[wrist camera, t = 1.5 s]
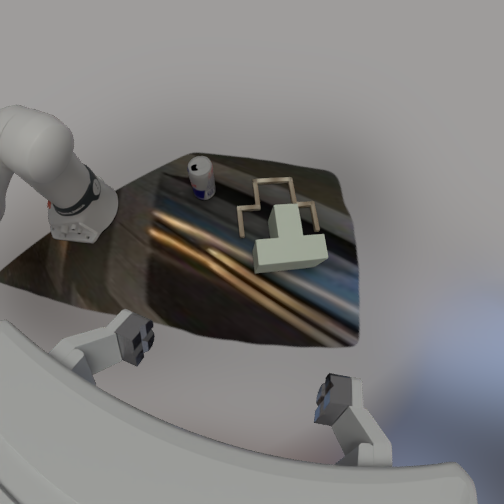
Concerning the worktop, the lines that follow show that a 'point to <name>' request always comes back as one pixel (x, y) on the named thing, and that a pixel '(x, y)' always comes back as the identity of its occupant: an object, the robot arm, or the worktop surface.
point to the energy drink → (202, 177)
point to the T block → (287, 243)
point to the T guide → (257, 201)
